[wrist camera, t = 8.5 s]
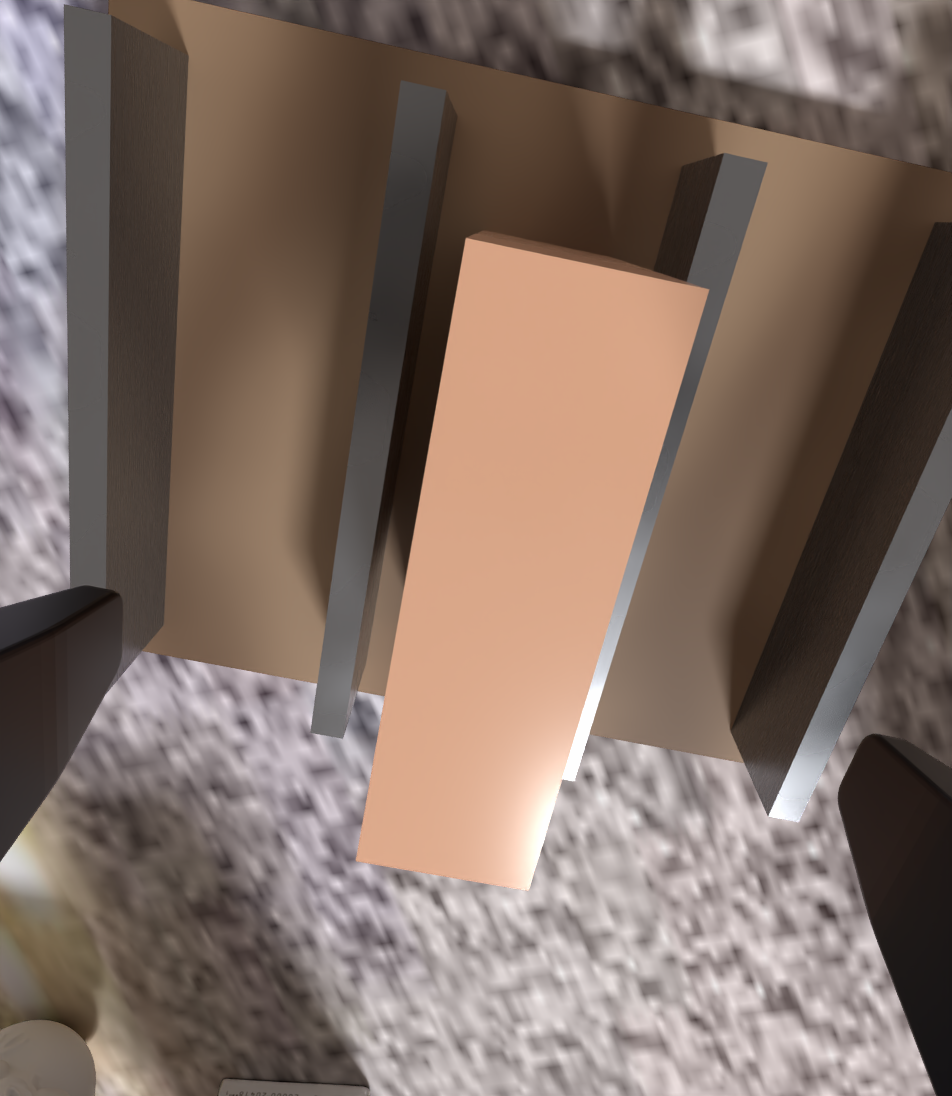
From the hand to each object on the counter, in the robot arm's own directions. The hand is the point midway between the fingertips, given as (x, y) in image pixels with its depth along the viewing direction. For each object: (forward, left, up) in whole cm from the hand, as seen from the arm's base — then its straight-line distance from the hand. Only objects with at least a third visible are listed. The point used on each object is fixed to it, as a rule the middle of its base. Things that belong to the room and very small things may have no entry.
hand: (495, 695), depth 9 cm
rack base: (0, 0, -12) cm, 12 cm away
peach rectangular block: (0, 0, -11) cm, 11 cm away
